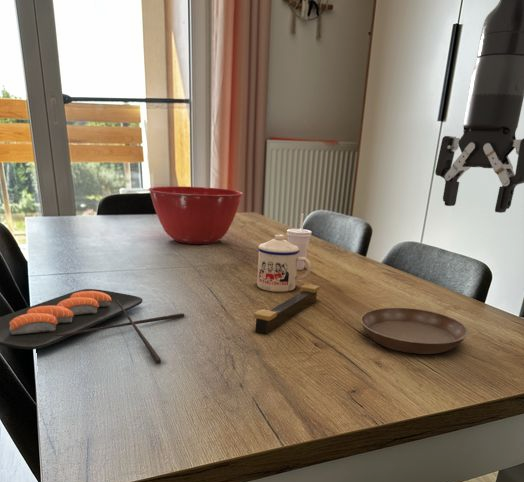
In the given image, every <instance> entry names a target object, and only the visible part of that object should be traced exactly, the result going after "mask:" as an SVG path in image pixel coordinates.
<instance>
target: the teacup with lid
mask: <svg viewBox="0 0 524 482" xmlns="http://www.w3.org/2000/svg"><path fill="white" fill-rule="evenodd" d="M257 250H258V258H257V259H258V260H257V261H258V263H257V282H256V285H257V287H258V288H259V289H261V290H263V291H267V292H274V293H275V292H276V293H284V292H286V293H287V292H290V291H294V290H295V288H296V285H297V281H300V280H304V279H306V278H307V277H308V276H309V275H310V273H311V269H312V264H311V261H310V260H309V259H308V258H307V257H306V258H304V257H298V253H299V248H298V247H297V246H296V245H293V244H291V243H290V242H289V241H288V239H287V240H286V239H285V235H284V234H275V235H274V238H272V239H269V240H268V241H266V242H262V243H260V244H259V245H258V248H257ZM297 260H300V261H304V262H305V264H306V267H307V268H306V271H305V273H303V275H297V271H298V270H297Z"/></svg>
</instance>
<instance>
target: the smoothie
mask: <svg viewBox="0 0 524 482" xmlns="http://www.w3.org/2000/svg"><path fill="white" fill-rule="evenodd" d="M304 215H305V213H302V212H301V215H300V217H301V218H300V228H288V229H287V230H286V235H287V241H289V242H290V243H291V244H293V245H296V246H297V247H298V248H299V253H298V257H304V258H306V259H307V255H308V250H309V244H310V240H311V237H312V234H313V233H312V230H309V229H305V228H303V227H304V217H305V216H304ZM305 264H306V263H305V262H304V261H300V260H297V271H301V270H304V268H305Z"/></svg>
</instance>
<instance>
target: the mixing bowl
mask: <svg viewBox="0 0 524 482" xmlns="http://www.w3.org/2000/svg"><path fill="white" fill-rule="evenodd" d="M147 190H148V191H149V194H150V198H151V201H152V205H153V208H154V210H155V214H156V216H157V218H158V220H159V222H160V225H161V226H162V227H161V228H162V229H163V230H164V232H165V233H166V234H167V236H168V237H170V238H172V239H173V240H174V241H175V242H177V243H182V244H192V245H193V244H194V245H207V244H213V243H217V242H218V241H219V240H221V239H223V237H224V236H225V235H227V233H228V232H229V229H230V228H231V225H232V223H233V222H234V219H235V217H236V215H237V211H238V209H239V205H240V202H241V198H242V195H243V192H242V191H239V190H235V189H229V188H228V189H227V188H217V187H204V186H175V185H173V186H172V185H171V186H169V185H168V186H153V187H149V188H148V189H147Z"/></svg>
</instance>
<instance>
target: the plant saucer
mask: <svg viewBox="0 0 524 482" xmlns="http://www.w3.org/2000/svg"><path fill="white" fill-rule="evenodd" d="M360 322H361V325H362V327H363V329H364V330H365V332H366V333H367V335H368V336H369V337H370V338H371V339H372V340H373V341H374V342H375V343H377V344H379V345H381V346H383V347H384V348H388V349H389V350H390V349H391V350H393V351H398V352H402V353H407V354H415V355H433V354H434V355H435V354H441V353H446V352H448V351H450V350H453V348H455V347H456V346H458V345H459V344H460V343H462V342H463V341H464V340H465V339H466V338H467V336H468V334H469V330H468V328H467V326H466V325H465V324H463V323H462V322H461V321H460V320H457V319H455V318H453V317H450V316H448V315H445V314H442V313H439V312H434V311H430V310H424V309H419V308H409V307H382V308H377V309H371V310H369V311H367V312H365V313H364V314H362V315H361V316H360Z"/></svg>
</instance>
